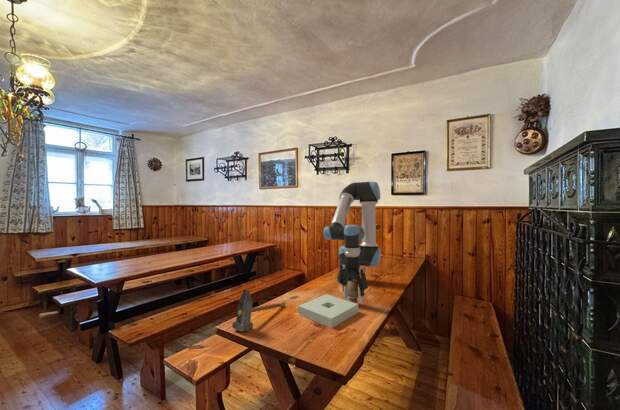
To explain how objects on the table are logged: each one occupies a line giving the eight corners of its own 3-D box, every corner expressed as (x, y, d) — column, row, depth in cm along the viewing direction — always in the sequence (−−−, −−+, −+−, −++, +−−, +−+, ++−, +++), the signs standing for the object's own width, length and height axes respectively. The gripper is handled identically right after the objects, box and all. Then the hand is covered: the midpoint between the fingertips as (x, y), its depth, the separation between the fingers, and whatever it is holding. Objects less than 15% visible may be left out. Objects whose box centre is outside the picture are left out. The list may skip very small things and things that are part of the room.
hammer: (290, 286, 131) (247, 291, 107) (286, 319, 129) (241, 332, 104) (281, 284, 135) (237, 288, 110) (277, 316, 132) (231, 328, 107)
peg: (351, 301, 134) (351, 278, 134) (360, 304, 131) (360, 280, 131) (345, 304, 131) (345, 281, 130) (354, 307, 127) (354, 283, 127)
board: (326, 301, 135) (325, 294, 135) (358, 312, 121) (358, 303, 121) (298, 314, 121) (298, 305, 121) (331, 328, 107) (331, 318, 107)
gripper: (331, 254, 135) (332, 297, 135) (366, 259, 120) (367, 308, 121) (340, 251, 140) (340, 293, 141) (374, 257, 126) (375, 303, 126)
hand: (353, 300), depth 131 cm, fingers open, 8 cm apart
